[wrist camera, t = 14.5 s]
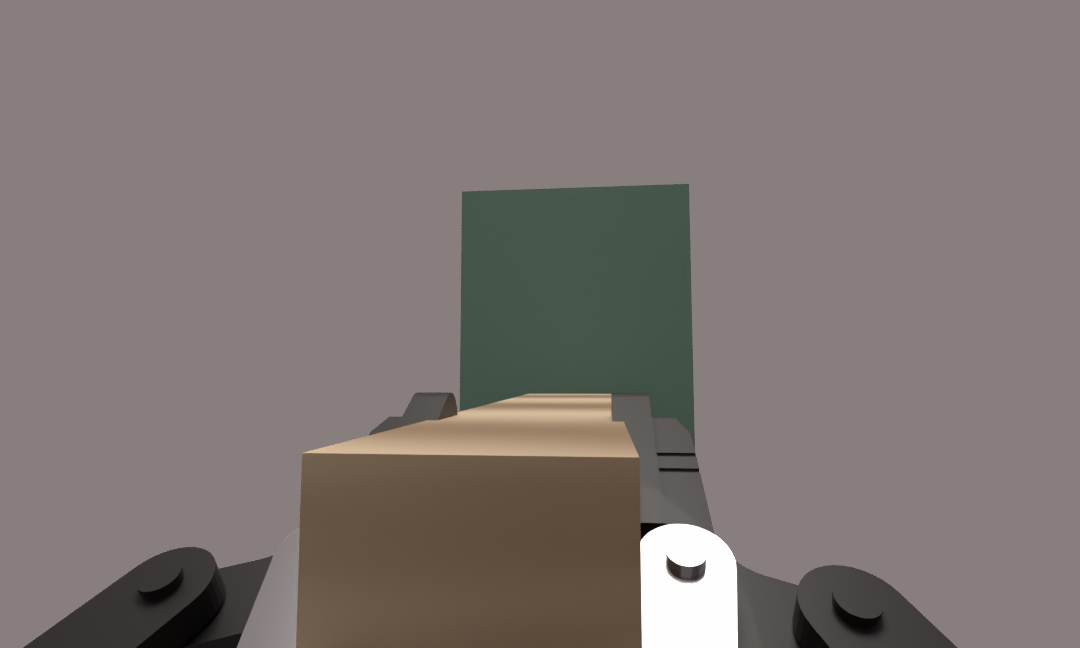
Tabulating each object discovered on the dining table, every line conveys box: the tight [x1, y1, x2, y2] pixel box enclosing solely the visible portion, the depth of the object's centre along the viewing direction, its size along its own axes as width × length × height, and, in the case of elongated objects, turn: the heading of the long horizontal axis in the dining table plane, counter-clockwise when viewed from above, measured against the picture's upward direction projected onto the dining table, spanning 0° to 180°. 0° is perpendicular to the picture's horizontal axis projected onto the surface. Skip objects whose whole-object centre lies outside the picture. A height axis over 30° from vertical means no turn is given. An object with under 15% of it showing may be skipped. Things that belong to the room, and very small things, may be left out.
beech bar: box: [296, 394, 642, 648], centre depth 15 cm, size 19×4×4 cm, turn 174°
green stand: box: [460, 184, 695, 450], centre depth 33 cm, size 12×11×36 cm
